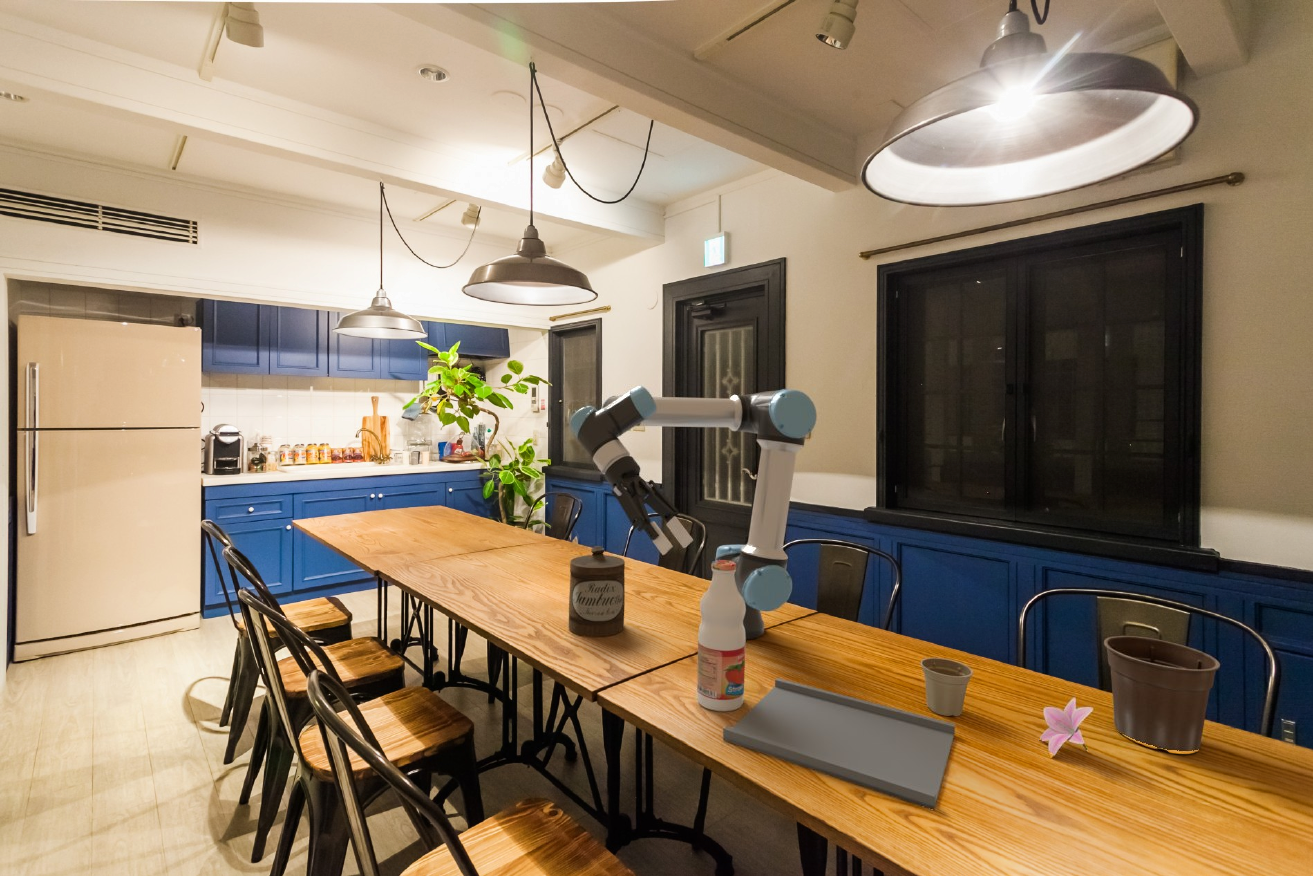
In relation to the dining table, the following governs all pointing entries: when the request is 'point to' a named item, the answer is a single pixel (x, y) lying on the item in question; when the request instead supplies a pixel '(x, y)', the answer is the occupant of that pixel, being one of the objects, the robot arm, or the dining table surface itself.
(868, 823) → the dining table surface
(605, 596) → the wooden container
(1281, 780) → the dining table surface
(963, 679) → the flower pot
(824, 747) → the gray tray
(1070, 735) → the lily
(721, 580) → the fruit juice
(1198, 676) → the plant pot
